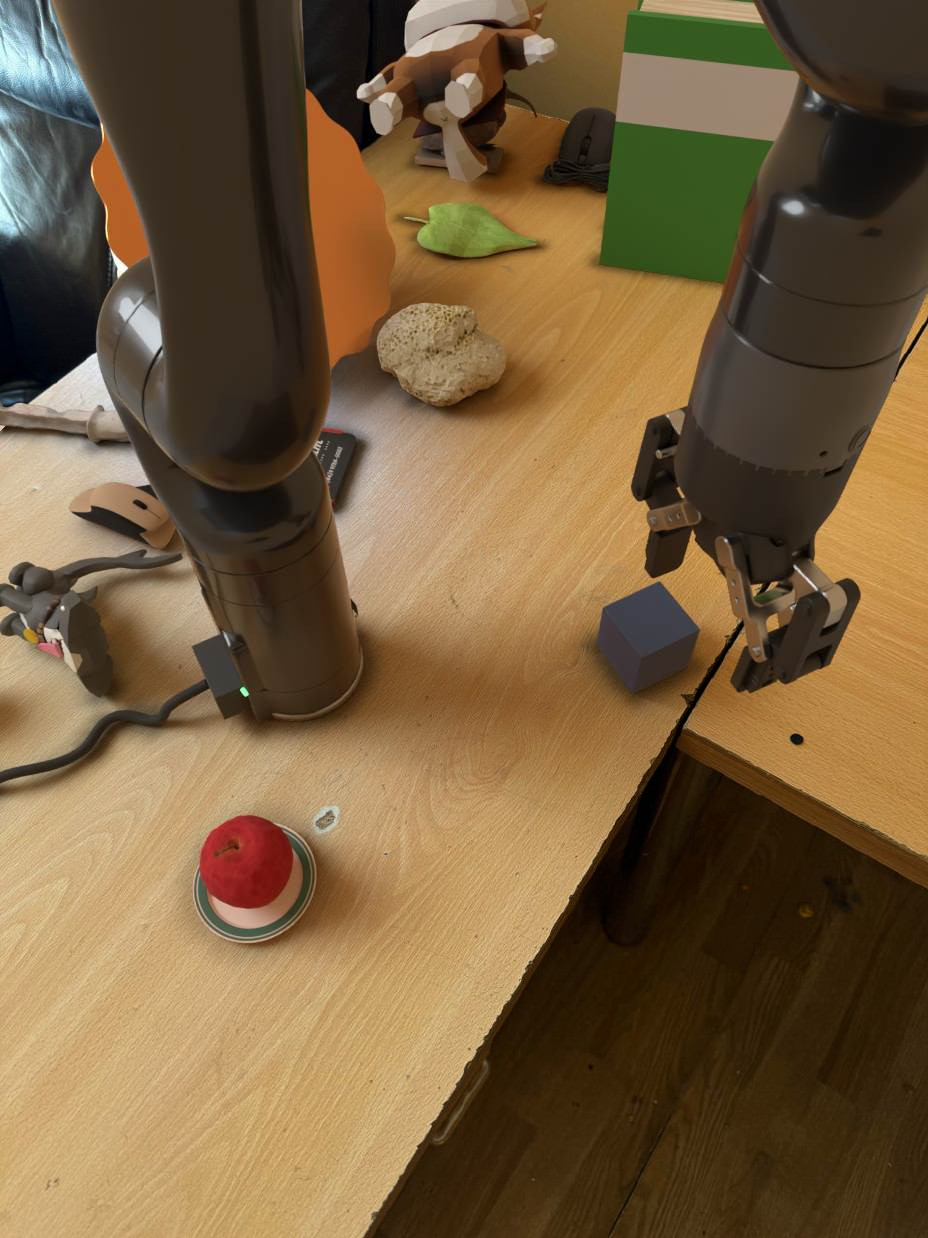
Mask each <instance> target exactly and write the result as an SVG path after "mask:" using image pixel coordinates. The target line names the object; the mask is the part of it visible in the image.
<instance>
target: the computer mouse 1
mask: <svg viewBox="0 0 928 1238" xmlns="http://www.w3.org/2000/svg"><path fill="white" fill-rule="evenodd" d="M68 511H69V512H70V513H71V514H73V515H75V516H77V517H79V518H80V519H83V520H85V521H88V522H90V523H93V524H95V525H98V526H100V527H102V528H104V529H107V530H109V531H112V532H113V533H114V532H115V533H116V534H119V535H122V536H124V537H125V538H128V539H131V540H133V541H135V542H138V543H141V544H144V545H145V546H149V547H151V548H155V549H159V550H161V549H164V548H165V547H167V545H168V544H169V542H170V540H171V539H172V537H173V535H174V534H175V531H176V527H175V525H174V523H173V522H172V520H171V518H170V517H169V515H168V514H167V512H166V510H165V509H164V507H163V506H162V504H161V502H160V501H159V499H158V497H157V496H156V494H155V492H154V491H153V489H152V487H151V485H150V484H145V485H138V486H133V485H130V484H127V483H123V482H117V481H109V482H104V483H102V484H100V485H98V486H96V487H93V488H89V489H86V490H84V491H82V492H80V493H79V494H78V495H76V496H75V497H74V498H73V499H72V500H71V501H70V503H69V504H68Z"/></svg>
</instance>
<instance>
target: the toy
mask: <svg viewBox="0 0 928 1238" xmlns="http://www.w3.org/2000/svg"><path fill="white" fill-rule="evenodd" d="M547 5H548V1H547V0H546V1H544V2H542V3H541V4H539V5H537V6H536V7H533V8H532V9H531V8H530V7H531V6H530V5H529V3H528V2H527V0H418V1H417V2H416V3H415V4H414V6H413V7H412V8H411V9H410V10H409V11H408V13H407V17H406V21H405V22H404V48H405V53H404V54H403V55H402V56H401V57H400V58H399V59H398V60H397V61H394V62H391V63H390V64H387V66H385V67H384V68H383V69H382V70H381V71H380V72H379V73H378V74H377V75H376V76H375V77H374V78H373V79H371V80H370V81H369V82H367V83H366V82H365V83H362V84H360V86H359V87H358V89H357V90H356V98H357V99H358V100H360V101H362V102H364V103H367V104H369V116H370V123H371V124H372V126H373V129H374V130H375V132H376V134H379V135H382V136H387V135H388V134H389V133H391V132H392V131H393V130H394V127H395V126H396V125H397V124H399V123H400V122H401V121H404V120H406V119H410V118H413V119H416V120H419V122H418V124H417V127H416V129H415V131H414V133H413V135H412V138H413V140H414V139H418V138H419V139H420V138H421V137H423V136H428V135H433V134H437V133H442V136H443V143H444V152H445V158H446V164H447V167H446V168H447V171H448V175H449V179H452V180H456V181H460V182H462V183H467V184H469V183H471V182H472V181H474V180H476V179H477V178H479V177H480V176H481V175H483V174H485V173H486V172H485V171H486V170H487V161H486V157H485V156H484V155H483V154H482V153H481V152H479V151H478V150H477V149H476V148H475V147H474V146H473V145H472V144H471V143H470V142H469V141H468V139H467V138H466V136H465V134H464V132H463V129H462V128H465V127H469V126H474V125H479V124H483V123H488V122H492V121H497V120H501V117H502V114H503V111H504V109H505V107H506V104H507V99H506V94H507V88H508V84H507V81H506V79H505V76H506V74H508V73H509V71H510V70H511V71H514V70H515V71H520V72H521V71H523V70H525V69H527V68H528V67H529V66H531V65H533V64H534V63H535V62H537V61H538V62H539V63H540V64H544V63H546V62H548V61H549V60H551V59H552V58H554V57H556V56H557V55H558V44H557V42H556V41H555V40H553V38H551V37H547V38H543V37H541V36H540V35H539V34H538V33H536V32H537V30H538V29H539V27H540V26H541V24H542V22H543V20H544V17H545V13H546V9H547Z"/></svg>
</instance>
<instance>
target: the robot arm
mask: <svg viewBox="0 0 928 1238" xmlns="http://www.w3.org/2000/svg"><path fill="white" fill-rule="evenodd" d="M753 1H754V4H755V6H756V8H757V10H758V12H759V14H760V16H761V18H762V20H763V22H764V24H765V26H766V28H767V30H768V32H769V33H770V35H771V37H772V38H773V40H774V42H775V43H776V45H777V47H778V48H779V50H780V51H781V53H782V54H783V56H784V57H785V58H786V60H787V61H788V62H789V64H790V65H791V66H792V68H793V69H794V70H795V71H796V72H797V74H798V75H799V80H798V84H797V88H796V91H795V95H794V98H793V101H792V104H791V107H790V111H789V113H788V116H787V118H786V121H785V123H784V125H783V127H782V129H781V131H780V133H779V135H778V137H777V139H776V140H775V142H774V143H773V145H772V147H771V149H770V150H769V152H768V154H767V155H766V157H765V159H764V161H763V163H762V165H761V167H760V169H759V171H758V173H757V175H756V177H755V180H754V182H753V185H752V187H751V190H750V192H749V195H748V197H747V200H746V203H745V206H744V210H743V213H742V217H741V220H740V224H739V227H738V231H737V234H736V238H735V242H734V246H733V250H732V254H731V258H730V262H729V266H728V270H727V274H726V278H725V282H724V283H723V286H722V290H721V294H720V297H719V300H718V303H717V306H716V309H715V311H714V313H713V315H712V318H711V320H710V322H709V324H708V327H707V330H706V331H705V332H706V333H705V335H704V337H703V338H704V339H703V341H702V345H701V348H700V352H699V356H698V361H697V364H696V369H695V373H694V376H693V381H692V385H691V388H690V393H689V397H688V400H687V405H685V406H682V407H680V408H676V409H674V410H671V411H669V412H666V413H663V414H660V415H657V416H654V417H651V418H649V419H648V420H647V422H646V425H645V428H644V433H643V436H642V437H643V438H642V441H641V444H640V449H639V452H638V456H637V459H636V463H635V468H634V471H633V476H632V479H631V484H630V491H631V493H632V496H633V498H634V499H635V501H637V502H638V503H641V502H643V501H645V503H646V506H647V508H648V509H649V510H648V511H647V512H646V522H647V525H648V527H649V531H648V537H647V541H646V545H645V549H644V550H645V551H644V552H645V558H646V559H645V562H644V566H643V569H644V571H645V572H646V573H647V575H648V576H649V577H650V578H651V579H656V578H660V577H662V576H665V575H667V574H669V573H671V572H674V571H676V570H678V569H679V568H680V567H681V566H682V565H683V564H684V560H685V556H686V553H687V549H688V546H689V543H690V539H691V536H692V533H693V534H694V535H695V536H694V542H695V543H696V544H697V545H698V546H699V548H700V549H701V551H703V553H705V554H707V555H708V557H710V558H711V559H712V560H713V562H714V564H715V565H716V567H717V569H718V570H719V573H721V575H722V576H723V577H724V579H725V580H726V584H727V586H726V587H727V590H728V597H729V601H730V605H731V611H732V615H733V616H734V617H736V618H738V619H740V620H742V623H743V626H744V627H743V628H744V632H745V639H746V643H747V645H745V646H743V648H742V650H741V653H740V655H739V658H738V660H737V663H736V665H735V667H734V670H733V672H732V674H731V677H730V679H729V683H730V685H731V686H732V687H733V688H734V690H735V691H736V693H738V694H740V693H743V692H746V691H747V692H748V694H752V693H755V692H758V691H759V690H761V689H763V688H766V687H768V686H770V685H773V684H775V683H777V682H778V681H779V682H780V683H781V684H783V685H790V684H791V683H794V682H795V681H797V680H798V679H801V678H802V677H804V676H806V675H809V674H811V673H814V672H815V671H818V670H822V669H824V668H827V667H829V666H830V665H831V663H832V661H833V659H834V657H835V654H836V652H837V650H838V648H839V646H840V644H841V642H842V639H843V637H844V635H845V633H846V631H847V630H848V627H849V624H850V622H851V621H852V618H853V616H854V614H855V612H856V609H857V607H858V605H859V603H860V601H861V598H862V593H861V590H860V587H859V585H858V584H857V583H856V581H855V580H853V578H850V577H844V578H843V579H840V580H837V581H835V582H834V581H833V580H832V579H831V578H830V577H829V576H828V575H827V574H826V573H825V572H824V571H823V570H822V569H821V568H820V567H819V566H818V565H817V563H815V558H816V545H815V544H816V543H815V541H816V534H817V533H818V531H819V530H820V528H821V527H822V526H823V525H824V523H825V522H826V520H828V518H829V517H830V515H831V514H832V513H833V511H834V510H835V508H836V507H837V506H838V504H839V502H840V499H841V497H842V495H843V492H844V491H845V489H846V487H847V484H848V482H849V480H850V477H851V476H852V473H853V471H854V469H855V467H856V465H857V464H858V461H859V458H860V456H861V454H862V453H863V450H864V448H865V446H866V443H867V441H868V440H869V437H870V436H871V433H872V431H873V428H874V426H875V424H876V422H877V420H878V418H879V416H880V413H881V411H882V409H883V407H884V404H885V403H886V400H887V398H888V396H889V394H890V392H891V389H892V387H893V384H894V381H895V377H896V374H897V371H898V367H899V364H900V359H901V356H902V353H903V349H904V347H905V344H906V341H907V340H908V336H909V334H910V333H911V331H912V328H913V326H914V324H915V321H916V320H917V318H918V315H919V313H920V311H921V309H922V306H923V304H924V302H925V300H926V298H927V296H928V0H753ZM50 2H51V5H52V7H53V10H54V12H55V15H56V18H57V20H58V23H59V26H60V29H61V31H62V35H63V36H64V39H65V41H66V44H67V46H68V49H69V51H70V54H71V56H72V59H73V62H74V64H75V66H76V69H77V71H78V73H79V75H80V78H81V80H82V83H83V85H84V87H85V90H86V92H87V94H88V96H89V99H90V101H91V103H92V106H93V108H94V110H95V113H96V115H97V117H98V119H99V123H100V122H101V124H102V127H103V129H104V131H105V133H106V136H107V138H108V140H109V143H110V145H111V147H112V149H113V152H114V154H115V156H116V159H117V161H118V163H119V166H120V168H121V170H122V173H123V175H124V177H125V180H126V182H127V185H128V187H129V189H130V192H131V194H132V197H133V200H134V203H135V206H136V209H137V211H138V214H139V217H140V220H141V223H142V227H143V231H144V234H145V238H146V242H147V246H148V250H149V255H148V256H146V257H144V258H142V259H140V260H139V261H137V262H135V263H134V264H133V265H132V266H130V267H129V268H128V269H127V270H126V271H125V272H124V273H123V274H122V275H121V276H120V277H119V278H118V277H117V279H116V280H115V282H114V283H113V284H112V286H111V288H110V289H109V290H108V292H107V294H106V296H105V298H104V300H103V303H102V305H101V309H100V311H99V315H98V319H97V325H96V333H95V347H96V357H97V360H98V365H99V370H100V373H101V376H102V380H103V382H104V386H105V388H106V390H107V393H108V395H109V397H110V400H111V402H112V404H113V407H114V409H115V411H117V413H118V415H119V418H120V420H121V422H122V424H123V427H124V429H125V431H126V433H127V435H128V438H129V440H130V442H129V443H130V444H131V445H132V448H133V451H134V453H135V455H136V457H137V459H138V461H139V462H138V463H140V466H141V468H142V471H143V472H144V475H145V477H146V478H147V481H148V483H149V485H151V487H152V489H153V491H154V492H155V494H156V496H157V497H158V499H159V501H160V502H161V504H162V506H163V507H164V509H165V510H166V512H167V514H168V515H169V517H170V518H171V520H172V522H173V523H174V525H175V527H176V528H175V530H176V531H177V533H178V535H179V538H180V541H181V543H182V545H183V547H184V550H185V552H186V554H187V557H188V559H189V561H190V564H191V566H192V568H193V569H192V570H193V572H194V574H195V576H196V578H197V582H198V583H199V586H200V588H201V589H200V593H201V596H202V598H203V601H204V603H205V605H206V608H207V611H208V613H209V615H210V617H211V619H212V622H213V625H214V627H215V629H216V633H217V634H216V635H215V636H212V637H210V638H207V639H205V640H202V641H199V642H198V643H196V644H195V643H194V644H193V645H191V650H192V652H193V654H194V655H195V658H196V661H197V662H198V665H199V667H200V670H201V672H202V674H203V676H204V678H203V679H201V680H200V681H198V682H196V683H194V684H192V685H190V686H188V687H186V688H185V689H183V690H182V691H180V692H178V693H176V694H175V695H173V696H172V697H170V698H169V699H168V700H167V701H165V702H164V703H163V704H162V705H161V707H160V708H159V711H158V713H156V714H148V713H143V712H140V711H136V710H135V711H134V710H130V709H120V710H115V711H112V712H110V713H107V714H106V715H105V716H103V717H102V718H101V719H99V720H98V721H97V722H96V724H95V725H94V726H93V727H92V729H91V731H90V732H89V734H88V735H87V736H86V738H85V739H84V741H83V742H82V743H81V744H79V746H77V747H76V748H75V749H72V750H71V751H69V752H67V753H65V754H62V755H60V756H57V757H55V758H52V759H48V760H44V761H43V760H42V761H39V762H35V763H28V764H24V765H19V766H15V767H11V768H7V769H4V770H2V771H1V770H0V785H1V784H3V783H5V782H9V781H11V780H15V779H19V778H24V777H28V776H35V775H38V774H43V773H47V772H48V773H49V772H51V771H55V770H58V769H61V768H64V767H66V766H69V765H71V764H73V763H75V762H77V761H78V760H81V759H82V758H83V757H85V756H86V755H88V754H89V752H90V751H92V749H93V748H94V747H95V746H96V744H97V743H98V742H99V740H100V738H101V737H102V736H103V734H104V733H105V731H106V730H107V729H108V728H109V727H111V725H113V724H115V723H117V722H123V721H126V722H131V723H136V724H139V725H142V726H144V725H145V726H158V725H161V724H164V723H165V722H166V721H167V720H168V719H169V718H170V716H171V713H172V712H173V711H174V710H175V709H177V708H178V707H180V706H181V705H183V704H184V703H186V702H188V701H190V700H191V699H193V698H196V697H197V696H199V695H201V694H203V693H204V692H206V691H208V690H210V692H211V694H212V696H213V699H214V701H215V703H216V705H217V707H218V710H219V712H220V713H221V716H222V718H223V720H224V721H226V720H228V719H231V718H232V717H235V716H237V715H239V714H241V713H244V712H246V711H249V710H251V711H252V713H253V715H254V717H255V720H256V721H257V722H258V723H259V724H263V723H266V722H267V721H269V720H273V719H275V720H280V721H285V722H286V721H288V722H303V721H307V720H313V719H317V718H318V717H319V718H320V717H322V716H324V715H327V714H329V713H331V712H332V711H334V710H336V709H338V707H340V706H342V705H343V704H344V703H345V702H347V700H349V698H350V697H351V696H352V694H353V693H354V692H355V690H356V688H357V687H358V685H359V683H360V682H361V678H362V674H363V671H364V653H363V648H362V645H361V642H360V637H359V635H358V629H357V625H356V620H355V615H354V613H355V614H356V615H357V617H358V618H359V617H360V616H359V610H358V606H357V604H356V603H355V601H354V600H353V599H352V598H351V594H350V589H349V585H348V579H347V575H346V569H345V564H344V560H343V559H344V558H343V554H342V549H341V545H340V539H339V534H338V528H337V523H336V519H335V513H334V508H332V503H331V498H330V493H329V488H328V483H327V479H326V476H325V473H324V470H323V467H322V465H321V463H320V461H319V459H318V457H317V456H316V454H315V452H314V451H313V447H314V446H315V444H316V442H317V440H318V438H319V436H320V433H321V431H322V428H324V426H325V424H326V419H327V416H328V413H329V412H328V411H329V407H330V404H331V403H330V402H331V395H332V370H331V365H330V355H329V346H328V339H327V332H326V325H325V317H324V310H323V303H322V296H321V288H320V281H319V274H318V267H317V259H316V252H315V244H314V235H313V227H312V218H311V207H310V194H309V168H308V130H307V109H306V89H307V85H306V66H305V65H306V64H305V50H304V49H305V48H304V47H305V46H304V25H303V24H304V21H303V0H50ZM678 488H679V489H678ZM679 490H680V492H681V493H682V494H683V496H684V497H682V495H681V493H680V492H679ZM770 583H776V584H775V586H774V587H773V588H771V589H768V590H766V591H763V592H762V593H759V594H757V595H754V594H753V588H752V586H756V585H757V586H758V585H762V584H763V585H764V584H770ZM773 615H776V616H777V622H778V627H777V628H775V629H773V630H771V631H769V630H768V626H767V625H768V624H767V622H768V619H769V618H770V617H771V616H773Z"/></svg>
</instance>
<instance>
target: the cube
mask: <svg viewBox="0 0 928 1238" xmlns="http://www.w3.org/2000/svg"><path fill="white" fill-rule="evenodd" d="M598 627H599V628H598V631H597V632H598V633H597V638H596V645H595V646H596V648H597V649H598V650H599V651H600V652H601V654H602V655H603V656H604V659H606V660H607V662H608V663H609V665H610V666H611V667H612V668H613V671H615V673H616V674H617V675H618V677H619V678H620V679H621V680H622V683H624V685H625V686H626V687H627V689H628V690H629V692H630V693H631V694H632V695H635V694H637V693H639V692H642V691H643V690H645V689H647V688H649V687H651V686H653V685H655V684H657V683H659V682H661V681H663V680H665V679H666V678H669V677H671V676H673V675H675V674H677V673H679V672H681V671H683V670H685V669H686V668H687V669H688V667H689V665H690V662H691V659H692V656H693V653H694V650H695V647H696V644H697V641H698V638H699V636H700V632H701V628H700V627H699V626H698V625H697V623H696V622H695V620H693V619H692V617H691V616H690V615H689V613H687V611H685V609H684V608H683V607H682V606H681V604H680V603H679V602H678V601H677V599H675V597H674V596H673V595H672V594H671V593H670V590H668V588H666V587H665V585H664V584H663V583H662V582H661V581H660V580H658V581H656V582H654V583H651V584H650V585H647V586H646V587H643V588H641V589H639V590H637V591H635V592H632V593H631V594H628V595H626V596H624V597H622V598H620V599H618V600H615V601H614V602H611V603H609V604H607V605H605V606H602V610H601V616H600V621H599V626H598Z"/></svg>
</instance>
